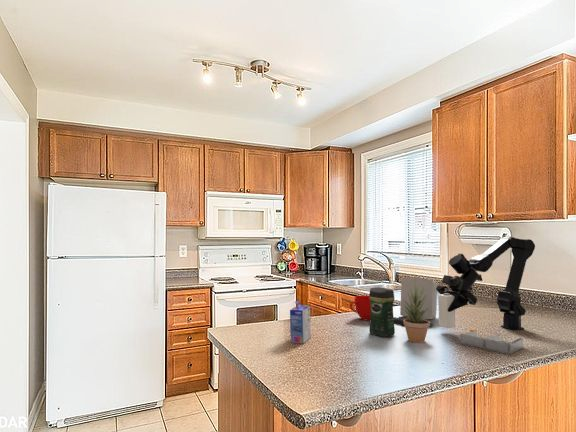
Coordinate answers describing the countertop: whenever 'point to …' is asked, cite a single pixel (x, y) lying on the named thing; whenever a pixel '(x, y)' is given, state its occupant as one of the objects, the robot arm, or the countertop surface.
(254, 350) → the countertop surface
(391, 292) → the coffee jar
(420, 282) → the electrical switch box
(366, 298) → the ceramic cup
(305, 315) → the ink cartridge box
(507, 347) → the rack
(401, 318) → the disk drive
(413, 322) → the potted plant
